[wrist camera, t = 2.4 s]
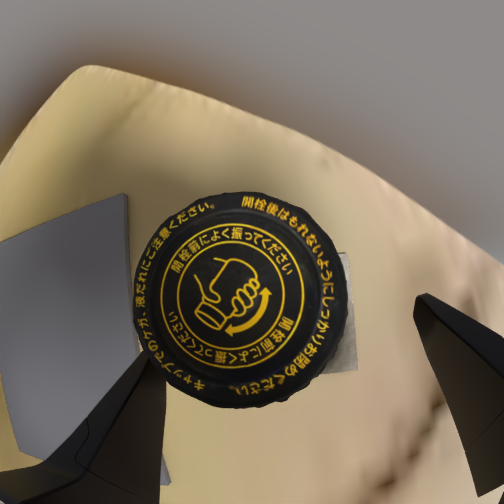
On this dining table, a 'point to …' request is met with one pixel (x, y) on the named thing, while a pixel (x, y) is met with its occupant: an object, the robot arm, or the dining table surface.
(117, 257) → the rubber mat
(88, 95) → the dining table surface
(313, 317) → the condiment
